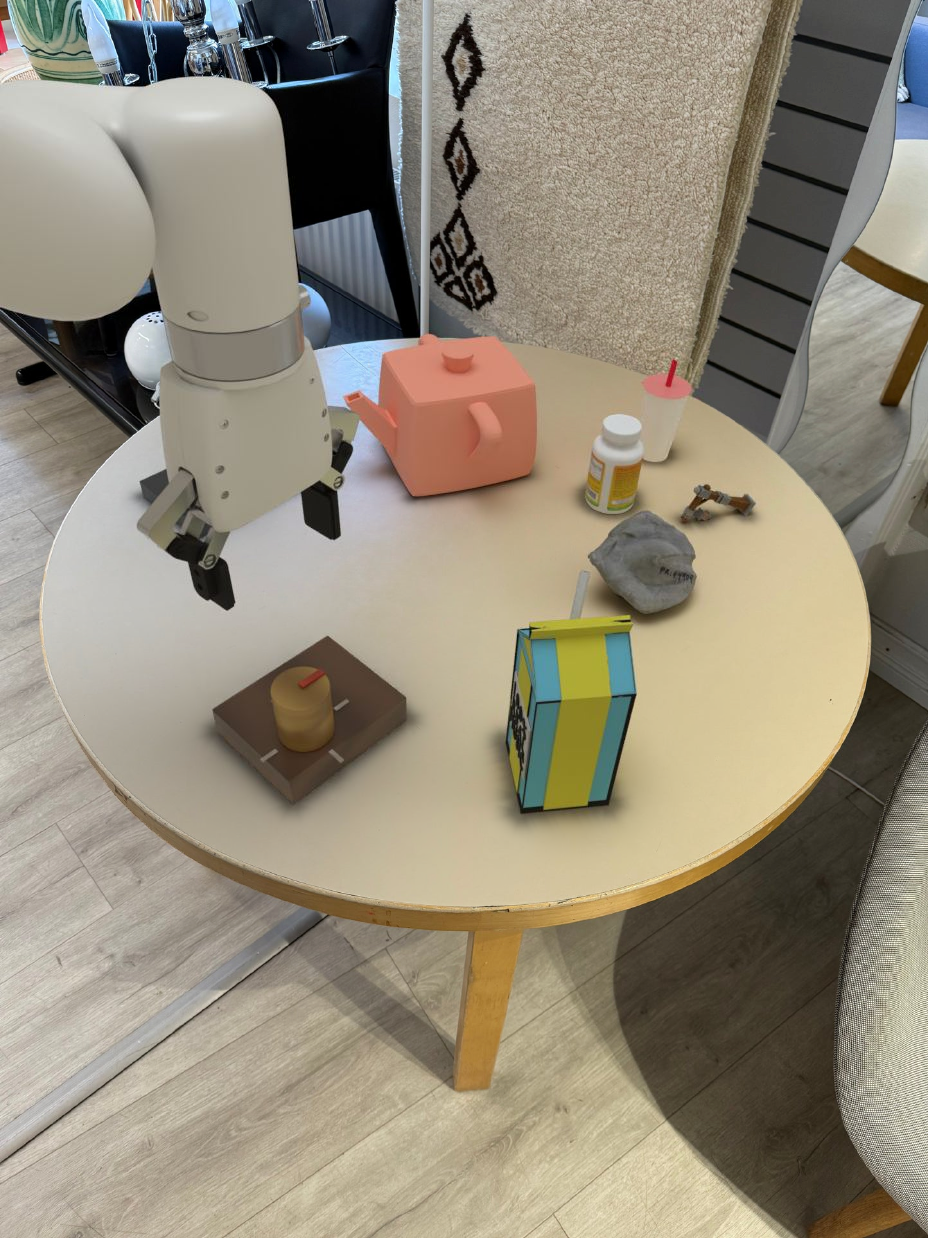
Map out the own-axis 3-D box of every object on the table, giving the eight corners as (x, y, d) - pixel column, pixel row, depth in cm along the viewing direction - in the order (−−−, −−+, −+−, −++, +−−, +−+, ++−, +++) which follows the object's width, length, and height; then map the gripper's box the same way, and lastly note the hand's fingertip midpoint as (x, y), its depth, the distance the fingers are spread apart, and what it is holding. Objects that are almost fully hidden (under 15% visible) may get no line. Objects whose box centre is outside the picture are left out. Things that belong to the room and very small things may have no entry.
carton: (588, 727, 76) (622, 564, 63) (612, 805, 70) (653, 643, 58) (501, 735, 75) (517, 570, 63) (518, 814, 70) (540, 652, 57)
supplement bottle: (639, 494, 100) (655, 417, 93) (625, 521, 96) (640, 443, 90) (593, 481, 102) (605, 404, 95) (577, 507, 98) (589, 429, 91)
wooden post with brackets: (671, 512, 96) (694, 477, 94) (724, 524, 100) (748, 492, 98) (679, 522, 95) (703, 487, 93) (732, 534, 99) (757, 501, 97)
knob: (301, 762, 69) (295, 717, 65) (266, 729, 71) (257, 684, 67) (346, 730, 71) (341, 685, 67) (310, 699, 73) (304, 654, 70)
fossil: (619, 640, 83) (633, 575, 78) (563, 583, 89) (572, 518, 83) (710, 601, 88) (730, 537, 82) (651, 549, 93) (666, 485, 88)
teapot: (481, 402, 113) (486, 294, 103) (554, 503, 98) (569, 389, 89) (325, 428, 107) (315, 317, 98) (378, 540, 93) (373, 422, 83)
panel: (301, 818, 69) (297, 794, 67) (214, 734, 74) (207, 709, 72) (418, 729, 75) (417, 704, 73) (330, 658, 81) (327, 633, 79)
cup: (684, 453, 106) (706, 360, 98) (659, 473, 103) (680, 378, 95) (646, 436, 108) (664, 343, 100) (620, 454, 106) (637, 360, 97)
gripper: (303, 267, 58) (324, 487, 70) (62, 367, 48) (134, 603, 60) (389, 304, 54) (396, 528, 66) (149, 418, 45) (207, 657, 56)
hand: (272, 563), depth 63 cm, fingers open, 9 cm apart
